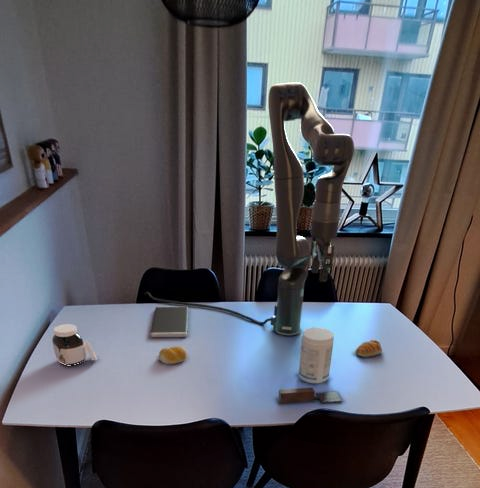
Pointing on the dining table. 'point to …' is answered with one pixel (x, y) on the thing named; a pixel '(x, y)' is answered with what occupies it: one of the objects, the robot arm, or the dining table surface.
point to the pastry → (369, 348)
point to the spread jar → (70, 346)
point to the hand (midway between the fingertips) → (318, 276)
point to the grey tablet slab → (170, 322)
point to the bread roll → (172, 355)
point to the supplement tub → (315, 355)
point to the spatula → (306, 396)
